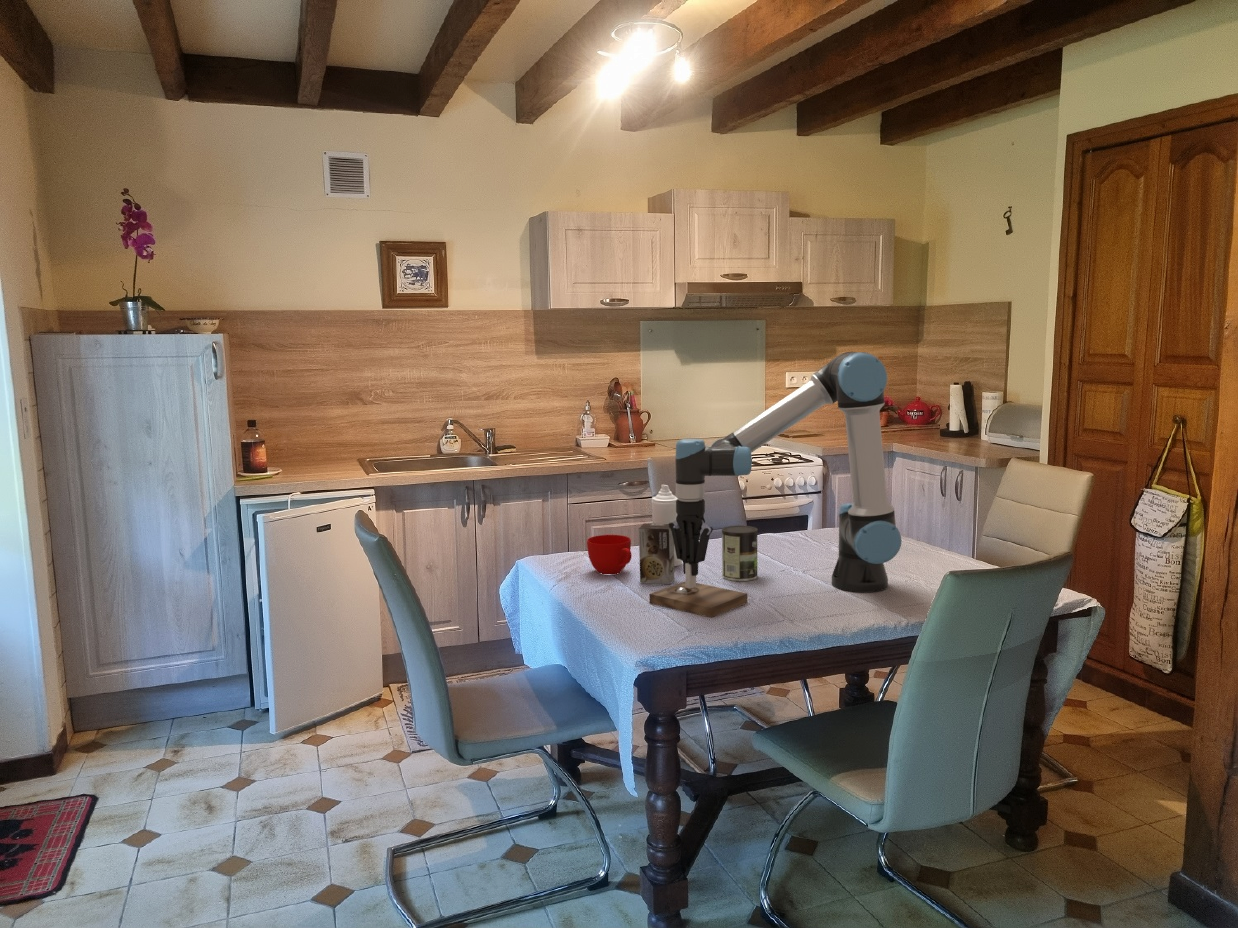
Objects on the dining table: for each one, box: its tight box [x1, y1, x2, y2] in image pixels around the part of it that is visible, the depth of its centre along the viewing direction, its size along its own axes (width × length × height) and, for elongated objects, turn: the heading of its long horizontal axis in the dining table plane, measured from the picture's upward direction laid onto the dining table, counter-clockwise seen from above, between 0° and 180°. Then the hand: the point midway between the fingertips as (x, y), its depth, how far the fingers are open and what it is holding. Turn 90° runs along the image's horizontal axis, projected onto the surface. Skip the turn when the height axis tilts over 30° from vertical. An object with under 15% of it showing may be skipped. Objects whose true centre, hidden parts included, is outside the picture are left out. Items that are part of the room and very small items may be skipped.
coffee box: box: [638, 522, 676, 585], centre depth 267 cm, size 9×6×16 cm
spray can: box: [650, 484, 683, 567], centre depth 284 cm, size 12×11×25 cm
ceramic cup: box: [586, 534, 633, 575], centre depth 276 cm, size 13×17×10 cm
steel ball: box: [676, 587, 687, 593], centre depth 250 cm, size 3×3×3 cm
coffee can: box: [721, 525, 759, 582], centre depth 270 cm, size 10×10×14 cm
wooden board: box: [649, 581, 748, 618], centre depth 246 cm, size 20×16×2 cm
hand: (690, 586), depth 247 cm, fingers closed
